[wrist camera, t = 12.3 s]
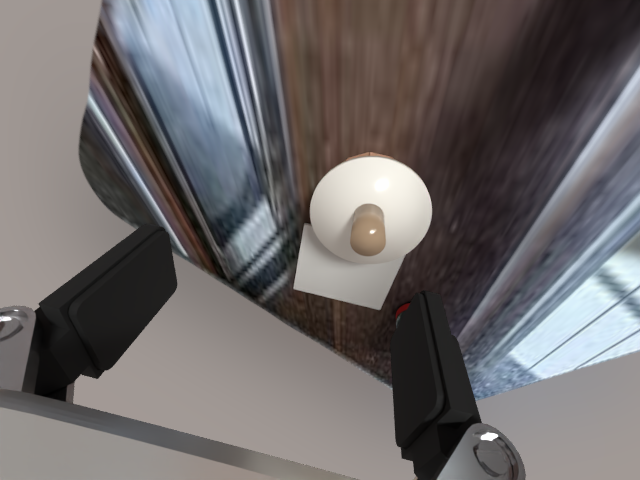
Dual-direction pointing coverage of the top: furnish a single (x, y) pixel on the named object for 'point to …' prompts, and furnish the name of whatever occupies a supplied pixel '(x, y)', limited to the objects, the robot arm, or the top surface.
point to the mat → (342, 274)
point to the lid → (370, 210)
